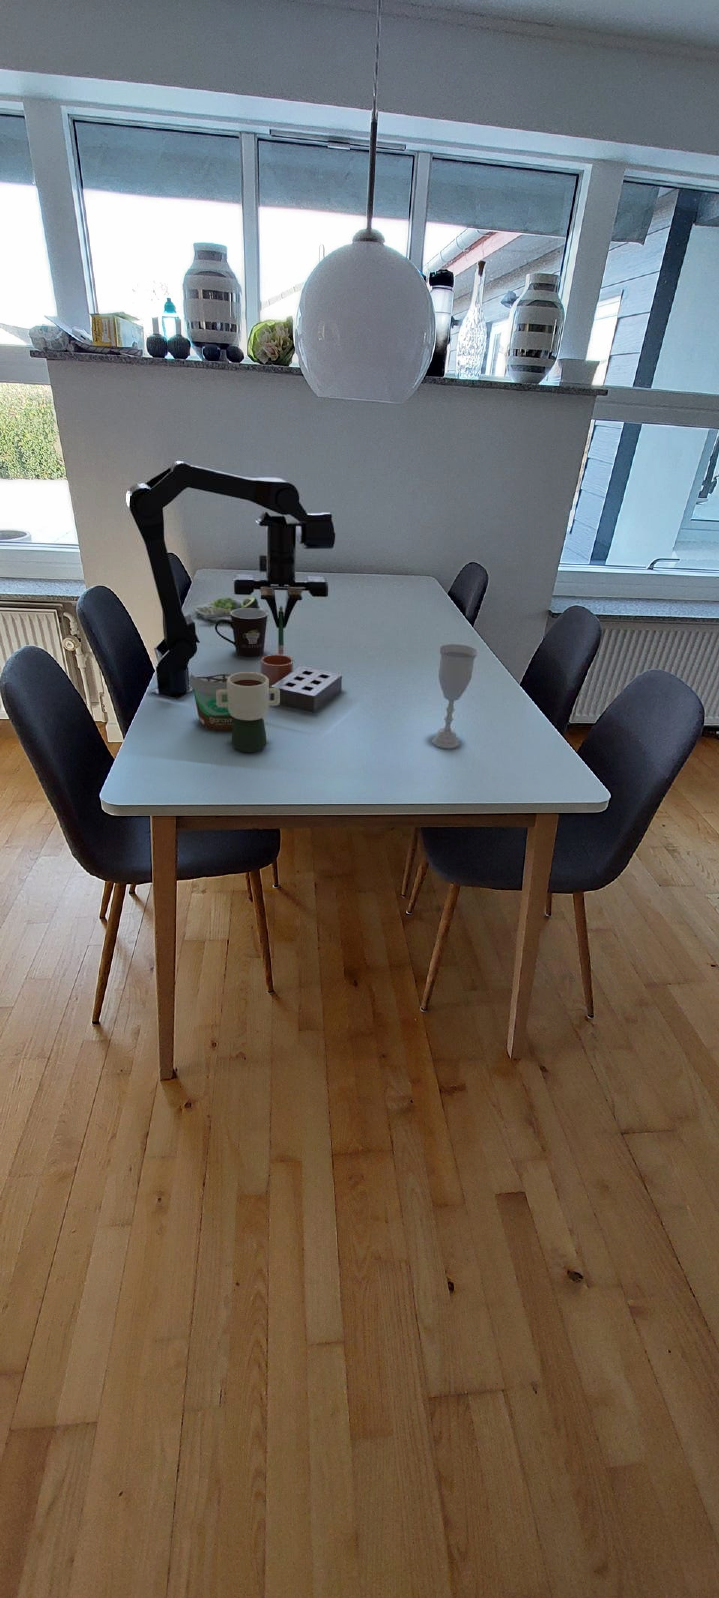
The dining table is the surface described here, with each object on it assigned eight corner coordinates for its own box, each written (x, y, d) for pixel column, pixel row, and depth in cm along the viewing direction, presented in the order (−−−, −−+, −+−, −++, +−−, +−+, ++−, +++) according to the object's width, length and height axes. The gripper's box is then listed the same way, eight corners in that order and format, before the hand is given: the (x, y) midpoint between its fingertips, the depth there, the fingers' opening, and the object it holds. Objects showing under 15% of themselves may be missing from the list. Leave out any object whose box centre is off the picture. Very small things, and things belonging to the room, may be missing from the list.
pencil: (282, 654, 146) (282, 606, 140) (277, 653, 146) (277, 605, 141) (284, 653, 146) (284, 605, 141) (279, 652, 147) (279, 604, 142)
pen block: (341, 692, 148) (342, 674, 146) (313, 714, 137) (314, 696, 135) (300, 683, 151) (300, 665, 149) (270, 704, 140) (270, 686, 138)
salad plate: (226, 630, 179) (226, 613, 177) (178, 615, 187) (177, 598, 185) (275, 615, 193) (275, 599, 191) (228, 602, 201) (228, 586, 199)
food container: (193, 736, 126) (190, 685, 121) (191, 722, 131) (187, 672, 126) (260, 732, 129) (260, 682, 124) (256, 718, 134) (255, 669, 129)
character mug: (276, 737, 128) (277, 670, 121) (282, 754, 122) (282, 685, 115) (217, 739, 125) (214, 672, 118) (219, 757, 119) (216, 687, 113)
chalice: (441, 730, 135) (453, 641, 125) (470, 742, 131) (485, 651, 122) (419, 742, 130) (431, 650, 120) (450, 754, 126) (463, 660, 117)
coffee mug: (271, 650, 168) (271, 609, 163) (263, 662, 161) (263, 620, 156) (224, 646, 169) (223, 605, 164) (214, 657, 162) (212, 615, 156)
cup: (283, 690, 147) (283, 667, 144) (255, 684, 149) (255, 661, 146) (298, 680, 152) (298, 658, 150) (270, 674, 155) (270, 652, 152)
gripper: (324, 542, 143) (322, 616, 151) (233, 539, 141) (236, 615, 149) (329, 554, 134) (326, 632, 142) (232, 551, 131) (235, 631, 139)
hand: (281, 627), depth 143 cm, fingers closed on pencil, 1 cm apart
